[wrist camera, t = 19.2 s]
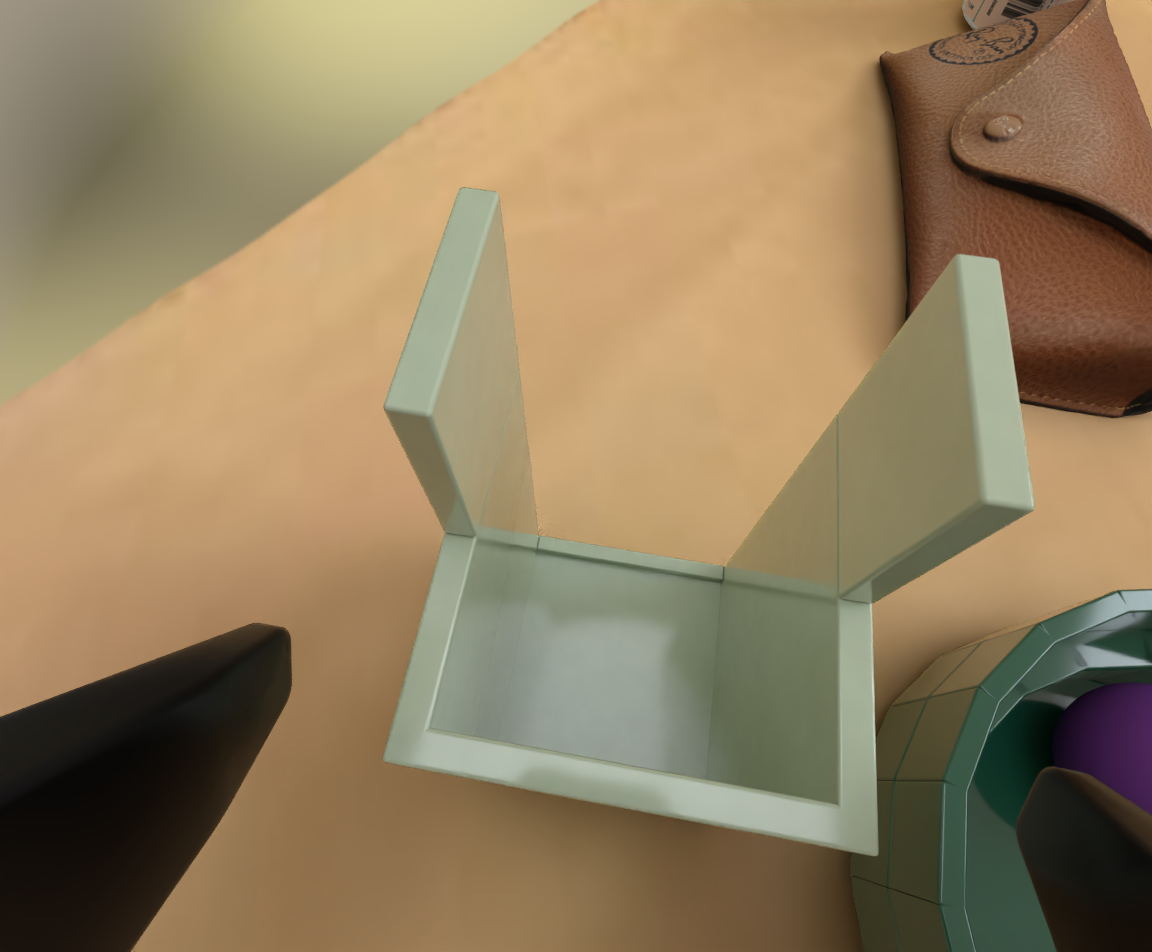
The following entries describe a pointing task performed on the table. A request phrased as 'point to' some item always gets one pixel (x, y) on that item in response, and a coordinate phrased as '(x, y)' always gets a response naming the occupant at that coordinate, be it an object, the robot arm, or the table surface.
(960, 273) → the pale green open holder
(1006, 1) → the beer can
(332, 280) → the table surface
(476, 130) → the table surface
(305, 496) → the table surface
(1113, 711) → the ball
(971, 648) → the bowl
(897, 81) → the sunglasses case
